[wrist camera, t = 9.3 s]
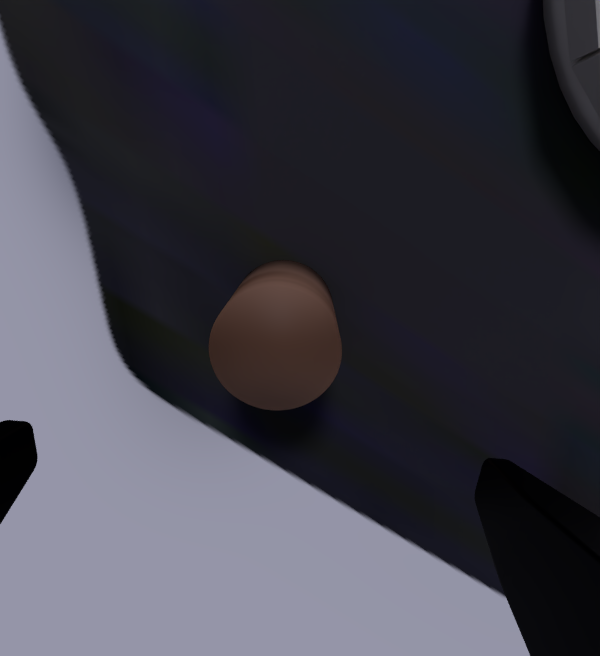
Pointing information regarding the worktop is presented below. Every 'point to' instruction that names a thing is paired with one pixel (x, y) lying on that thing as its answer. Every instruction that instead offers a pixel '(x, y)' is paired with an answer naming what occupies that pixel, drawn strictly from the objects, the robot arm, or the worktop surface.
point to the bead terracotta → (277, 338)
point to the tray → (577, 58)
